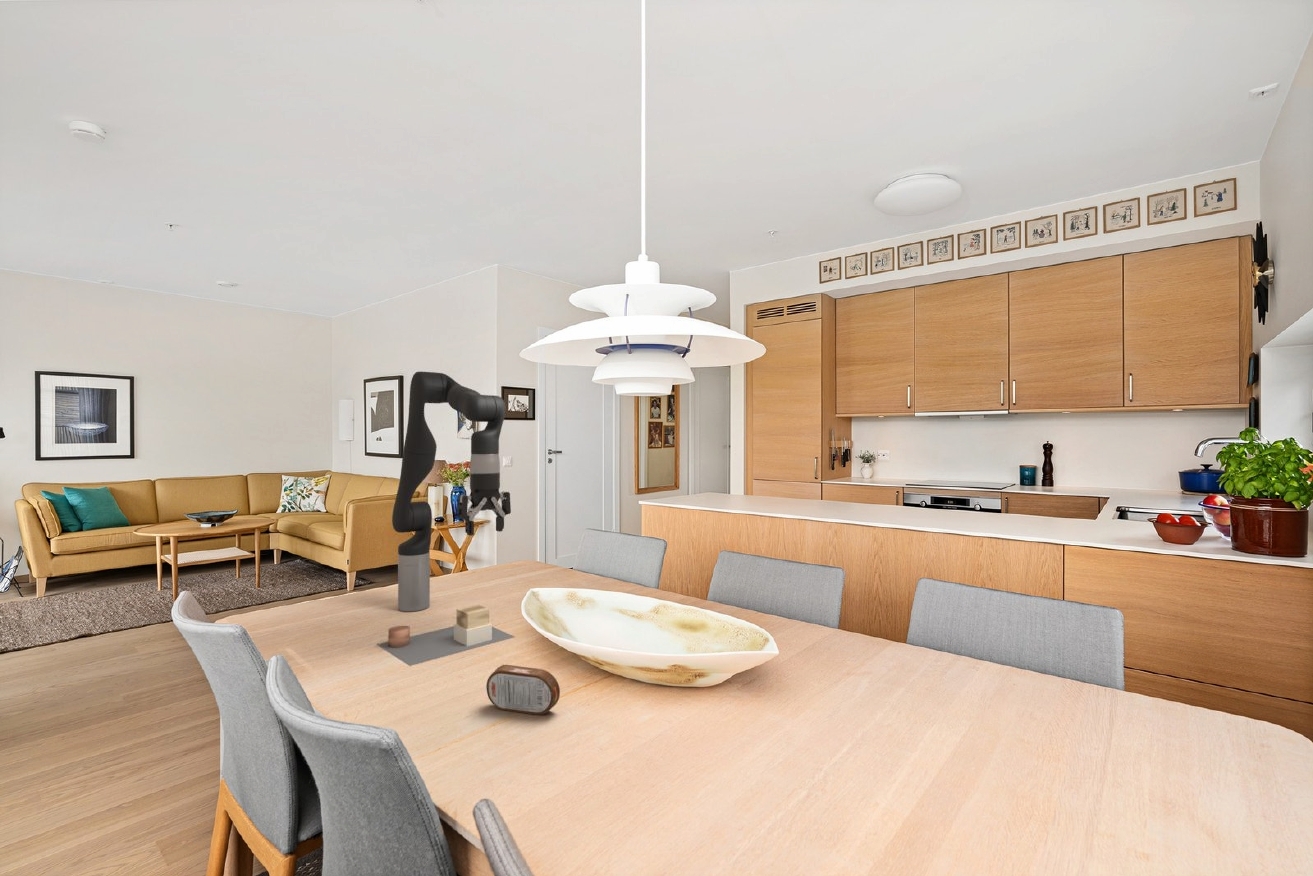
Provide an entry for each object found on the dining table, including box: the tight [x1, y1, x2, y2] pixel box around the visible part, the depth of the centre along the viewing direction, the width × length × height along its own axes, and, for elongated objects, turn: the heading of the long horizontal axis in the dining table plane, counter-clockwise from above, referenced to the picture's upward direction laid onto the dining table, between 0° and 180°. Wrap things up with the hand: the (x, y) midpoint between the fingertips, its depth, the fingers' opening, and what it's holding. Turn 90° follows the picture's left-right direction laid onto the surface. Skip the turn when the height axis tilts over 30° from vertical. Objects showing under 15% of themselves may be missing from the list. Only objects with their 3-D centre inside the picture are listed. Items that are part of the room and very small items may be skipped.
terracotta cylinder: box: [387, 625, 411, 648], centre depth 153 cm, size 5×5×4 cm
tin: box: [486, 664, 561, 716], centre depth 118 cm, size 15×3×8 cm, turn 74°
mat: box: [376, 625, 516, 667], centre depth 155 cm, size 20×28×1 cm
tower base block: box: [453, 622, 493, 646], centre depth 156 cm, size 7×7×4 cm
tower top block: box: [456, 603, 490, 629], centre depth 156 cm, size 6×6×4 cm
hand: (485, 533), depth 157 cm, fingers open, 8 cm apart
